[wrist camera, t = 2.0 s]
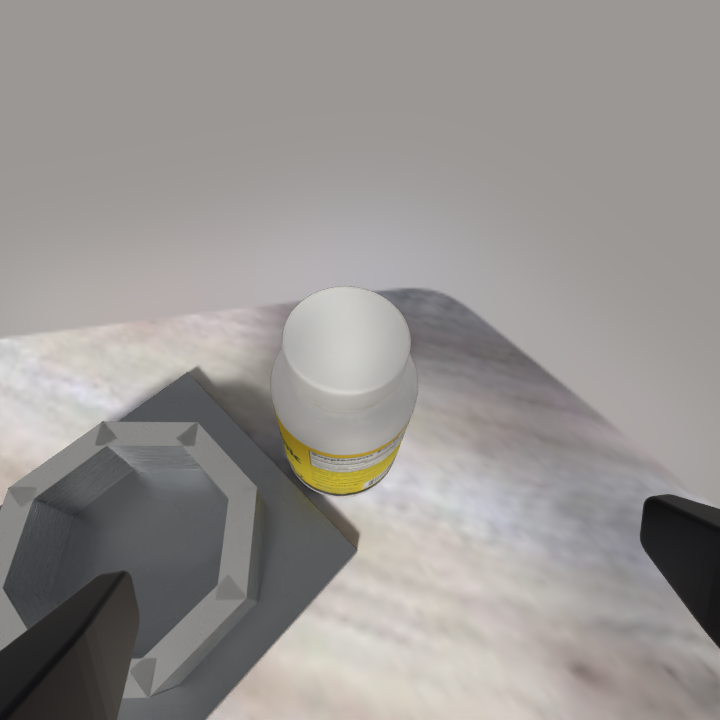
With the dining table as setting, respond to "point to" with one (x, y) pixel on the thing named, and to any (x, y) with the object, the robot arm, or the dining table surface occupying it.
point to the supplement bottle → (344, 389)
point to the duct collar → (170, 546)
